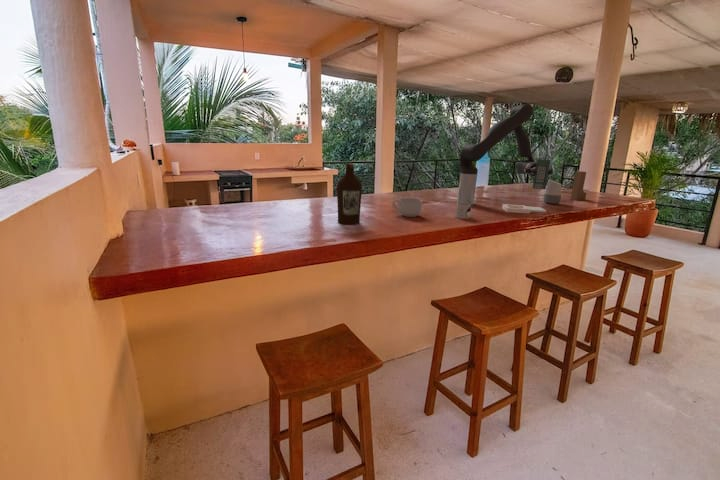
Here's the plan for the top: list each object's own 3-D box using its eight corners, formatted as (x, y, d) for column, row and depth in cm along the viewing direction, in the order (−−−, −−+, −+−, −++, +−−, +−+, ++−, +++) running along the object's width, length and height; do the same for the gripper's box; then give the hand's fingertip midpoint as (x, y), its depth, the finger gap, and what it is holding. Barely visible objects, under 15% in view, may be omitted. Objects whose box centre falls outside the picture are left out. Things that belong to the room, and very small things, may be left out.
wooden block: (579, 198, 242) (584, 171, 237) (585, 199, 238) (591, 171, 233) (570, 199, 238) (575, 171, 233) (576, 200, 234) (582, 172, 229)
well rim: (506, 211, 192) (507, 208, 191) (502, 207, 203) (502, 204, 202) (530, 213, 190) (530, 209, 190) (524, 209, 201) (525, 205, 201)
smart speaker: (561, 205, 215) (565, 181, 211) (543, 204, 218) (547, 180, 214) (558, 202, 224) (562, 179, 220) (541, 201, 227) (545, 178, 223)
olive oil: (334, 219, 164) (335, 162, 156) (357, 219, 166) (359, 163, 159) (338, 225, 154) (339, 165, 146) (363, 225, 156) (365, 165, 149)
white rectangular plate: (530, 211, 195) (530, 209, 194) (525, 208, 204) (525, 206, 204) (546, 212, 193) (546, 210, 193) (540, 208, 203) (540, 207, 202)
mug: (469, 219, 172) (470, 205, 170) (454, 218, 174) (456, 204, 172) (470, 215, 181) (472, 202, 179) (456, 214, 183) (458, 201, 181)
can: (546, 188, 196) (551, 159, 192) (544, 189, 192) (549, 160, 187) (533, 187, 200) (538, 159, 195) (532, 188, 195) (536, 159, 190)
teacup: (422, 214, 180) (423, 198, 177) (418, 219, 170) (419, 202, 168) (395, 211, 184) (395, 196, 182) (389, 216, 174) (390, 199, 172)
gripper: (521, 162, 207) (529, 164, 192) (548, 163, 205) (558, 165, 189) (519, 175, 210) (527, 179, 194) (546, 176, 207) (556, 180, 192)
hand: (542, 172), depth 192 cm, fingers closed on can, 6 cm apart
